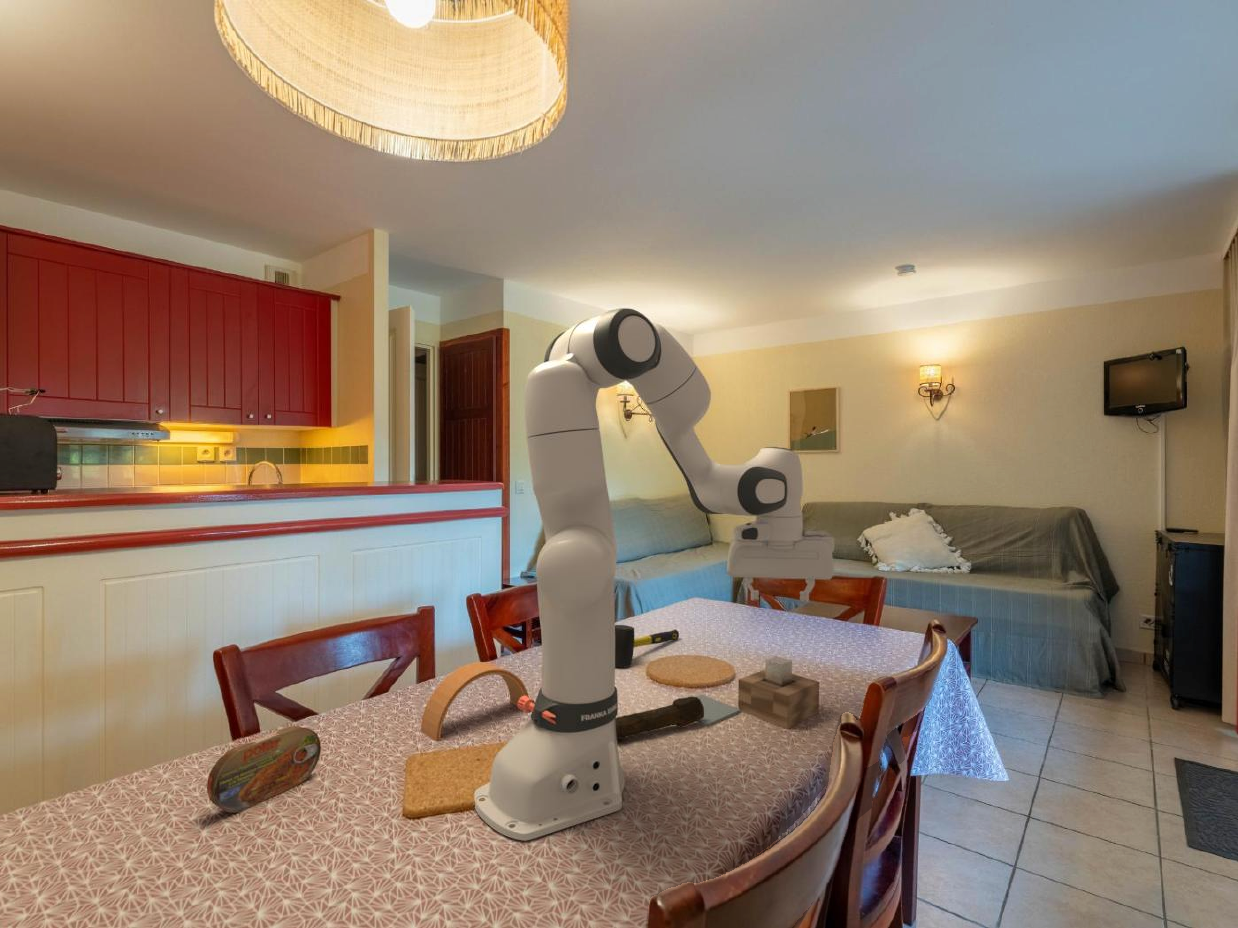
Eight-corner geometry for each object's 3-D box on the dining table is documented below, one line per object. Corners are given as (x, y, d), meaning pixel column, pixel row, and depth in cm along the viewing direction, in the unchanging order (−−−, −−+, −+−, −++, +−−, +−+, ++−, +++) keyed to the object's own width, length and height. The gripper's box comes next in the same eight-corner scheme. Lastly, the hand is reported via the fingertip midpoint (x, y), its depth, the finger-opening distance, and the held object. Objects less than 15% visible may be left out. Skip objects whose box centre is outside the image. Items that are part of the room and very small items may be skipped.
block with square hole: (786, 728, 109) (787, 696, 109) (738, 709, 118) (738, 679, 118) (818, 712, 117) (819, 681, 117) (770, 695, 125) (771, 666, 125)
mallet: (666, 638, 166) (666, 603, 166) (685, 642, 163) (685, 606, 162) (602, 666, 142) (603, 626, 142) (623, 672, 139) (623, 630, 139)
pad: (707, 726, 110) (707, 723, 110) (668, 709, 117) (668, 706, 117) (740, 712, 117) (740, 709, 117) (701, 696, 124) (701, 694, 124)
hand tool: (615, 746, 102) (614, 719, 102) (606, 735, 106) (606, 709, 106) (711, 725, 109) (711, 700, 109) (700, 716, 113) (700, 692, 113)
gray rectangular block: (781, 706, 115) (781, 664, 115) (765, 700, 117) (765, 659, 117) (791, 701, 117) (792, 660, 117) (775, 695, 120) (776, 656, 120)
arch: (420, 730, 108) (420, 675, 108) (514, 701, 121) (514, 651, 121) (435, 742, 103) (436, 684, 103) (530, 709, 117) (531, 658, 117)
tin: (214, 824, 79) (214, 761, 79) (203, 817, 81) (203, 754, 81) (322, 774, 92) (322, 720, 92) (310, 769, 94) (310, 715, 94)
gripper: (831, 529, 119) (831, 598, 119) (726, 527, 122) (726, 595, 122) (837, 532, 112) (838, 606, 112) (727, 531, 115) (727, 602, 115)
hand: (779, 600), depth 117 cm, fingers open, 8 cm apart
